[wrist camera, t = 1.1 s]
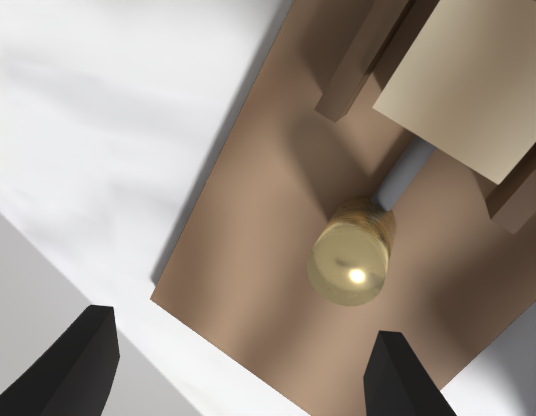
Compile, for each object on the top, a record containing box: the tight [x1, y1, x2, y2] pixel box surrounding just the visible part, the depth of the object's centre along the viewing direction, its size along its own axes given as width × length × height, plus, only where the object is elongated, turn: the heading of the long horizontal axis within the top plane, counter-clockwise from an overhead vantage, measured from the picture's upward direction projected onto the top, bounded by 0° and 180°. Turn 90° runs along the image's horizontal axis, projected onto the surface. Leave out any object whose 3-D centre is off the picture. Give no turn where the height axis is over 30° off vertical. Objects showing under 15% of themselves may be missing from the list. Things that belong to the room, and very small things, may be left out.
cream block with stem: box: [307, 0, 536, 306], centre depth 17 cm, size 5×12×5 cm, turn 152°
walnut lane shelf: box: [150, 0, 536, 416], centre depth 20 cm, size 16×26×4 cm, turn 151°
